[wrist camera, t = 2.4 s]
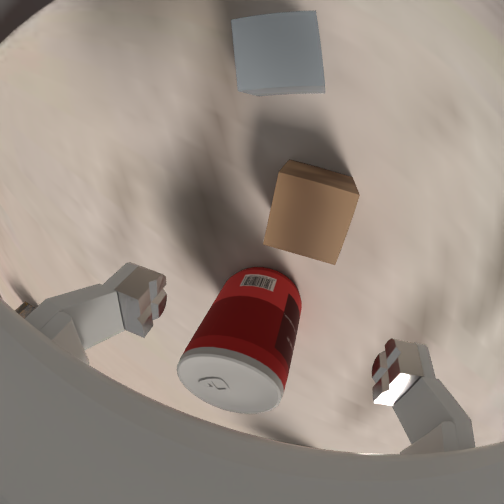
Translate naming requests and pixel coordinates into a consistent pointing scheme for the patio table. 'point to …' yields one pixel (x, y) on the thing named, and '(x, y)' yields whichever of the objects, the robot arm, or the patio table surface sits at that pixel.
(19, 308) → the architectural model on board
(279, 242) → the walnut block
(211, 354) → the canned food
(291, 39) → the grey block
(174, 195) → the patio table surface
